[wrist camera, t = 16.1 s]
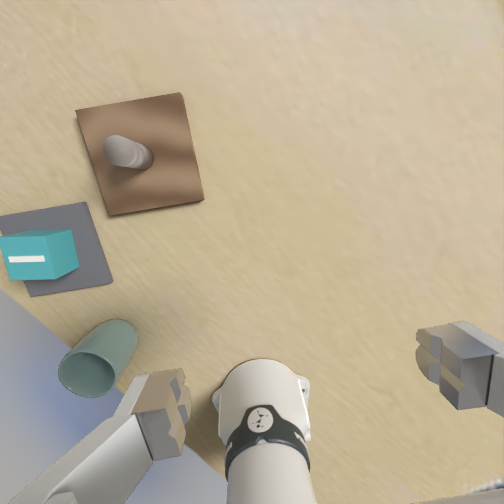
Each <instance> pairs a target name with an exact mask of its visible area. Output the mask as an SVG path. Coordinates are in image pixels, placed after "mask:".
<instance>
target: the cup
mask: <svg viewBox="0 0 504 504" xmlns="http://www.w3.org/2000/svg"><path fill="white" fill-rule="evenodd" d="M138 340H139V336H138V332H137V330H136V328H135V327H134V326H133V325H132V324H130V323H129V322H127V321H124V320H121V319H112V320H108V321H106V322H104V323H102V324H100V325H99V326H97V327H96V328H94V329H93V330H92V331H91V332H90V333H89V334H87V335H86V336H85V337H84V338H83V339H82V340H81V341H80V342H79V343H78V344H77V345H76V346H75V347H74V348H73V349H72V350H71V351H70V352H69V353H68V354H67V355H66V356H65V357H64V358H63V360H62V361H61V363H60V365H59V369H58V376H59V379H60V381H61V383H62V384H63V386H64V387H65V388H67V389H68V390H69V391H71V392H73V393H75V394H77V395H80V396H83V397H88V398H95V397H100V396H103V395H105V394H107V393H108V392H109V391H110V390H112V388H113V387H114V386H115V385H116V383H117V382H118V380H119V379H120V377H121V376H122V374H123V372H124V371H125V369H126V368H127V366H128V364H129V363H130V361H131V359H132V357H133V355H134V353H135V351H136V348H137V345H138Z"/></svg>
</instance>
